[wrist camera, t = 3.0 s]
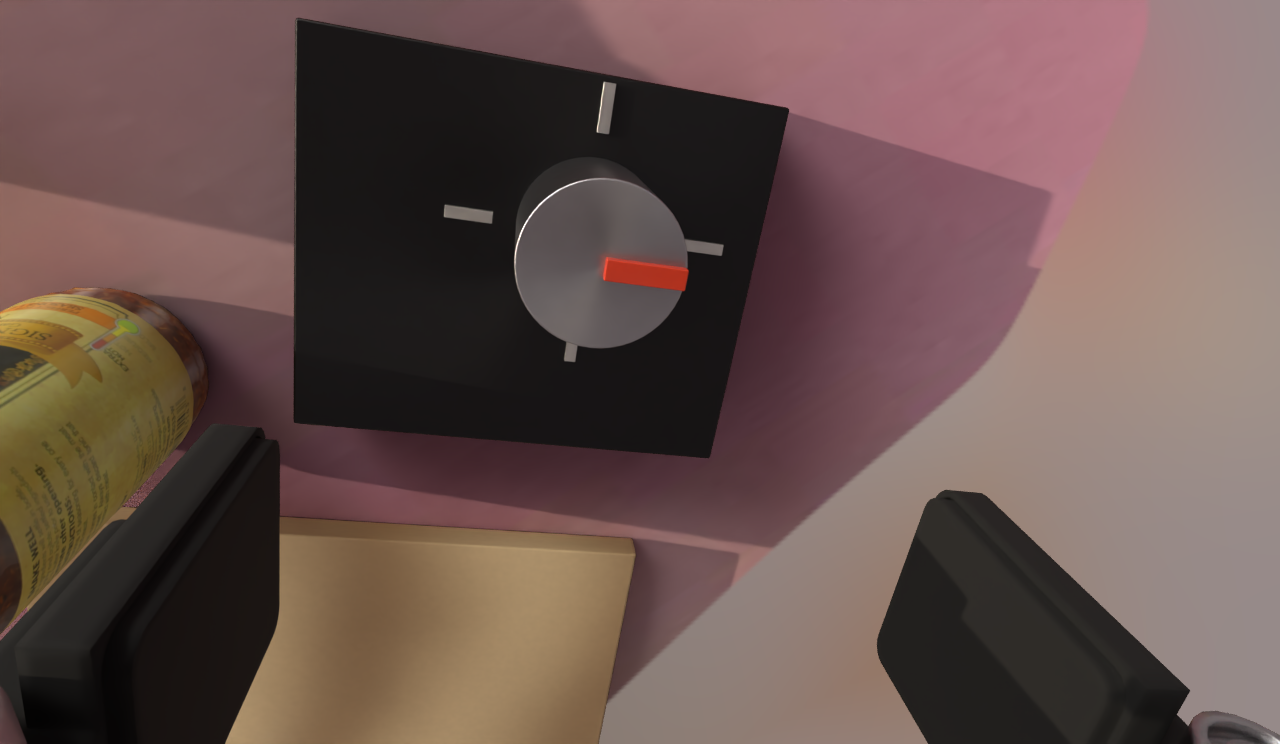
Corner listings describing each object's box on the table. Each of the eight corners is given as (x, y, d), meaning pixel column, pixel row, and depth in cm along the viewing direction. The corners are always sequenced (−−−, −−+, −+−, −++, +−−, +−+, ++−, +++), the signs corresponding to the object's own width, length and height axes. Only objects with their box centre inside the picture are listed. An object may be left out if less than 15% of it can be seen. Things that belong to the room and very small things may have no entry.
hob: (316, 387, 27) (291, 426, 24) (322, 22, 22) (292, 16, 20) (692, 422, 29) (711, 461, 26) (761, 103, 25) (792, 108, 22)
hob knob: (508, 290, 23) (504, 343, 19) (524, 145, 22) (524, 166, 17) (645, 307, 24) (672, 361, 20) (670, 169, 23) (706, 194, 18)
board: (65, 730, 31) (48, 755, 30) (34, 500, 27) (13, 519, 26) (594, 735, 35) (596, 756, 34) (632, 537, 31) (636, 554, 30)
